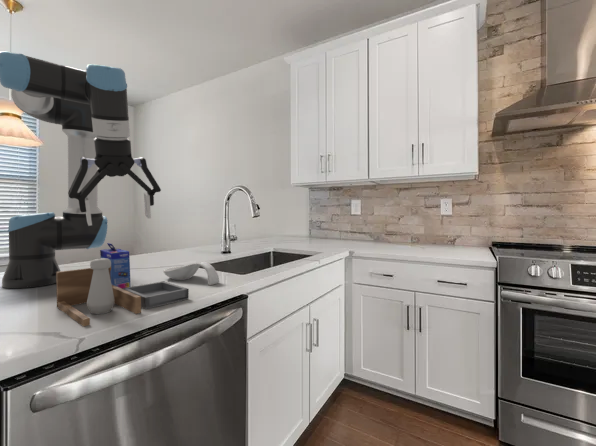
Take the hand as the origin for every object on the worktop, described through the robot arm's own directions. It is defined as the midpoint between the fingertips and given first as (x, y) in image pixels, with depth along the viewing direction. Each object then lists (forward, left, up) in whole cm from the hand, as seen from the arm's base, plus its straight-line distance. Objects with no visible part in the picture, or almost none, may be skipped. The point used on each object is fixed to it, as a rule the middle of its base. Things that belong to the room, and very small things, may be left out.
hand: (120, 220), depth 82 cm
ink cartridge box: (-18, +5, -23) cm, 29 cm away
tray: (+2, +8, -22) cm, 24 cm away
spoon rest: (-11, +28, -23) cm, 38 cm away
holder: (+1, -6, -22) cm, 23 cm away
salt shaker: (+3, -6, -22) cm, 23 cm away
